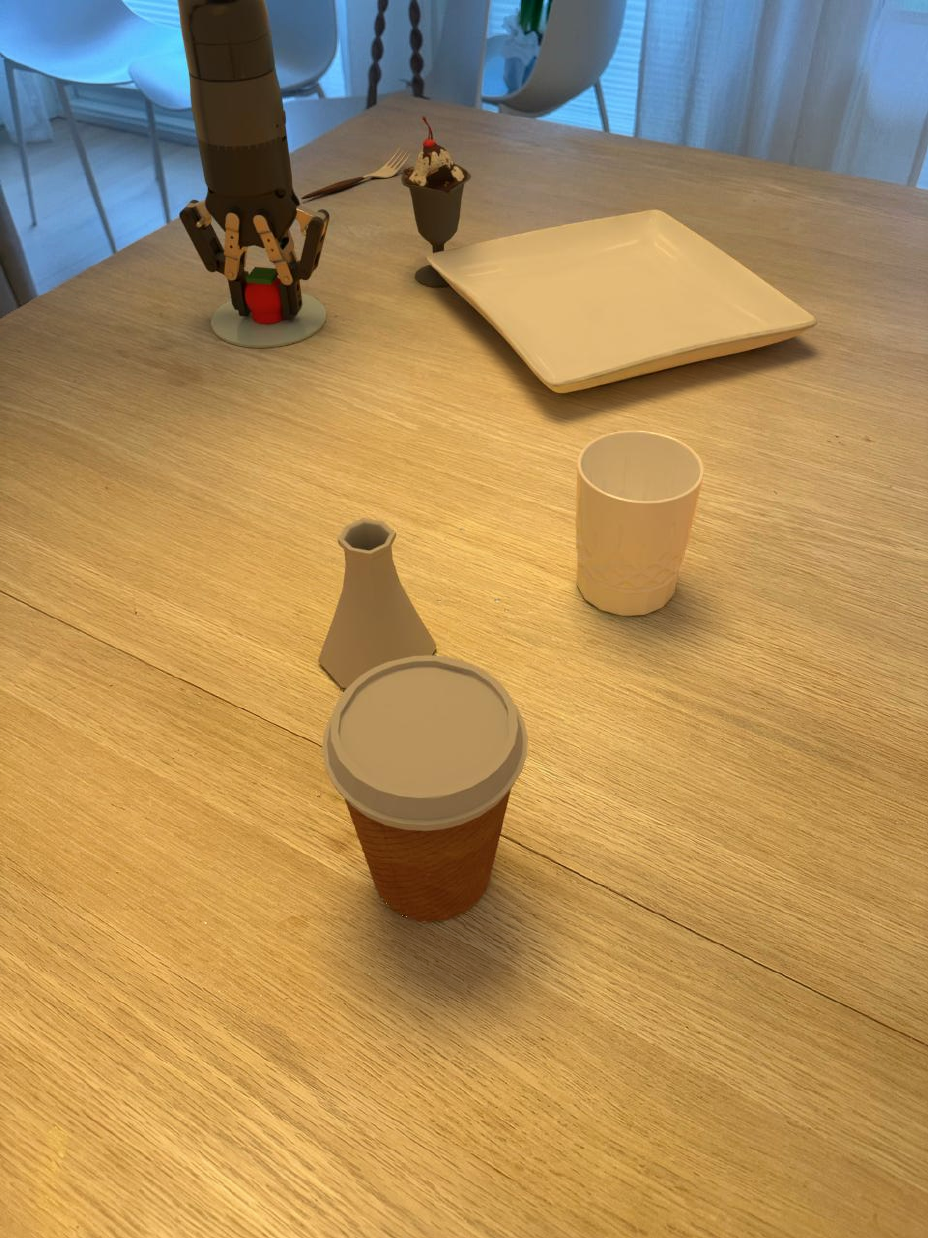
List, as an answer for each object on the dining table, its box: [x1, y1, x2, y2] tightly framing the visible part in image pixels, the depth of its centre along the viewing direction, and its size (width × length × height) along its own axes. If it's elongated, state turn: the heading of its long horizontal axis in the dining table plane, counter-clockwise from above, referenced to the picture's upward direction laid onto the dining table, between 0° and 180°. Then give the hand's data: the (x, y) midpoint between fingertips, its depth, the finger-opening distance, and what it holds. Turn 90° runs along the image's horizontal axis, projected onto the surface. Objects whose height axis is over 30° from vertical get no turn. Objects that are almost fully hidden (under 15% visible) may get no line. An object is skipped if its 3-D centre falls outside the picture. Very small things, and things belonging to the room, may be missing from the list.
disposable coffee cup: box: [321, 654, 529, 923], centre depth 52 cm, size 10×10×12 cm
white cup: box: [575, 429, 705, 617], centre depth 69 cm, size 8×8×10 cm
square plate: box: [425, 209, 818, 394], centre depth 99 cm, size 27×27×4 cm
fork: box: [300, 148, 413, 200], centre depth 125 cm, size 3×16×2 cm, turn 133°
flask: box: [317, 517, 437, 689], centre depth 64 cm, size 7×7×10 cm
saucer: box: [210, 292, 328, 349], centre depth 101 cm, size 11×11×1 cm
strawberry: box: [244, 266, 284, 324], centre depth 99 cm, size 4×4×4 cm
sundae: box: [400, 115, 472, 288], centre depth 102 cm, size 7×7×15 cm
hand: (269, 313), depth 101 cm, fingers closed on strawberry, 4 cm apart
